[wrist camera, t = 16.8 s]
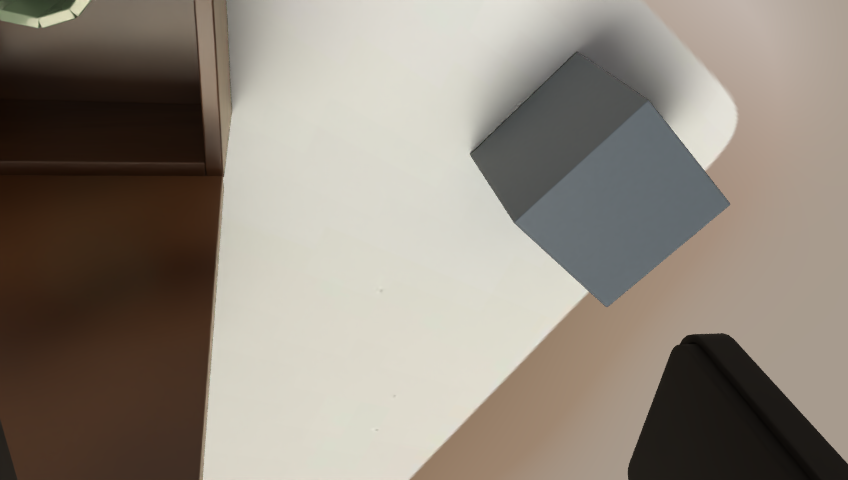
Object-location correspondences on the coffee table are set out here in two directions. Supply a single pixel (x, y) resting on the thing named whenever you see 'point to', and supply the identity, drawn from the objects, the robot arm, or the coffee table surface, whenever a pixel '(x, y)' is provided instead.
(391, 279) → the coffee table surface
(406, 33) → the coffee table surface
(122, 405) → the lid
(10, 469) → the robot arm
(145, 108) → the chest
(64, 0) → the cup
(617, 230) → the slate grey cube
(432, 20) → the coffee table surface
